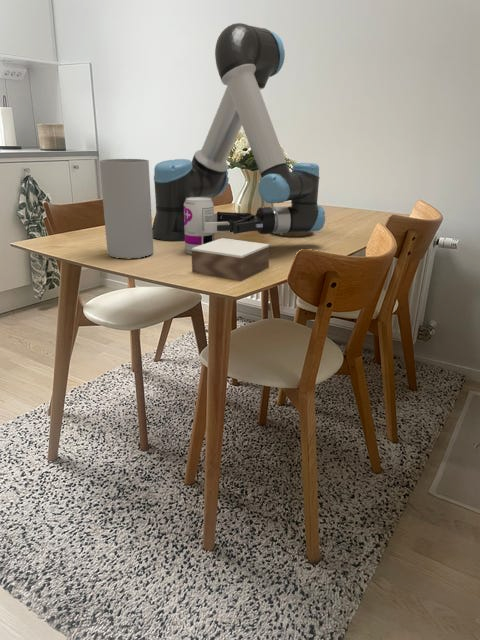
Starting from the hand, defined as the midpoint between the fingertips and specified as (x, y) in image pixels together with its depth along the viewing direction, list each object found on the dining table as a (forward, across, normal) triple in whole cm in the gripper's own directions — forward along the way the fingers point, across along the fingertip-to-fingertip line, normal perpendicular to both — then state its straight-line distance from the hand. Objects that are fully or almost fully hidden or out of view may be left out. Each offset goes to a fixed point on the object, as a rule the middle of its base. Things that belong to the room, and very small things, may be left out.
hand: (199, 223), depth 140 cm
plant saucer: (-36, +20, -9) cm, 42 cm away
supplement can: (0, +1, -9) cm, 9 cm away
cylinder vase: (+19, +3, -9) cm, 21 cm away
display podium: (-4, -19, -8) cm, 21 cm away
